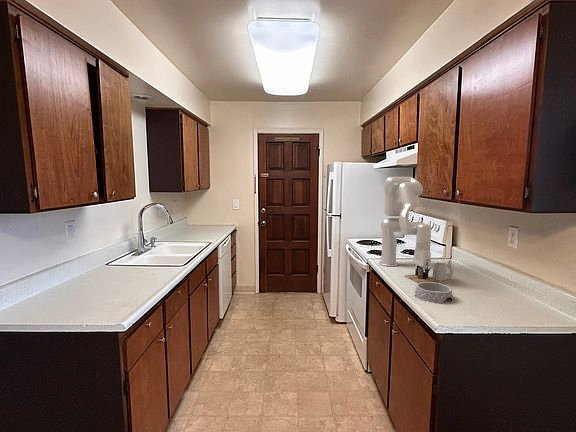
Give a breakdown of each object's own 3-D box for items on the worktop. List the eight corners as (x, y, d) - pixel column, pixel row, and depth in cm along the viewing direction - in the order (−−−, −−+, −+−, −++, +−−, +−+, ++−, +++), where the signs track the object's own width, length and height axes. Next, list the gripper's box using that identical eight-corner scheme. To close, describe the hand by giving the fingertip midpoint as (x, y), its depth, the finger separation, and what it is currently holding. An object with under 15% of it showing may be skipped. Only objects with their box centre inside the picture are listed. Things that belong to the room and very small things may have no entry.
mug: (429, 278, 200) (430, 258, 198) (448, 278, 200) (449, 258, 199) (435, 282, 192) (436, 261, 191) (455, 282, 193) (457, 261, 192)
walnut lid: (405, 276, 200) (405, 265, 200) (423, 275, 203) (423, 264, 202) (419, 283, 187) (420, 271, 186) (438, 282, 189) (439, 270, 189)
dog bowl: (460, 299, 167) (461, 288, 167) (436, 306, 158) (436, 294, 158) (430, 289, 182) (431, 279, 181) (406, 295, 173) (407, 284, 172)
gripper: (408, 243, 200) (407, 273, 202) (426, 249, 183) (425, 282, 185) (419, 242, 202) (418, 272, 204) (438, 248, 185) (437, 281, 187)
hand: (421, 276), depth 195 cm, fingers open, 6 cm apart
